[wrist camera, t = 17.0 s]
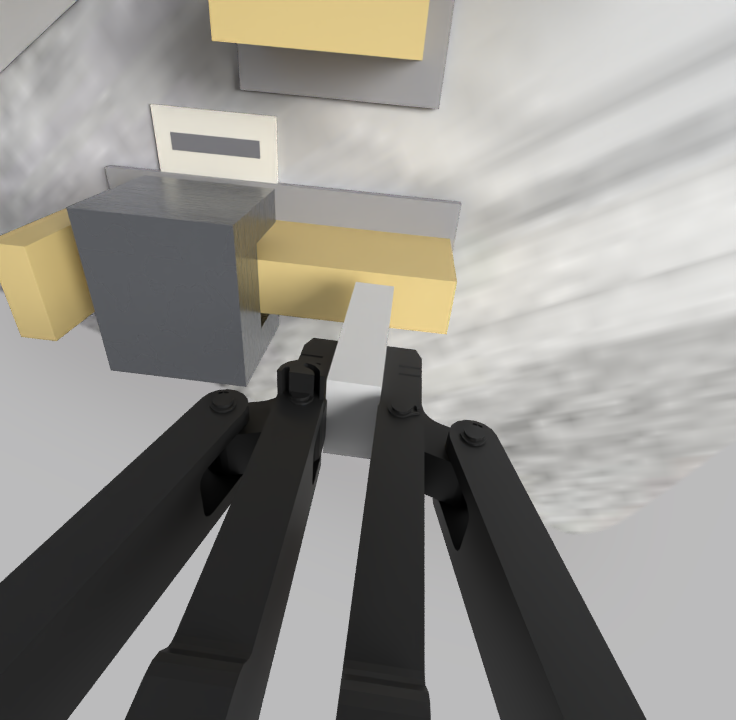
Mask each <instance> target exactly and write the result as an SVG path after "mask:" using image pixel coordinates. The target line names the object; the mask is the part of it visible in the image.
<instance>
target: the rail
mask: <svg viewBox="0 0 736 720" xmlns="http://www.w3.org/2000/svg"><path fill="white" fill-rule="evenodd" d="M105 170H106V175H107V179H108V184H109V188H110V189H112V188H114V187H116V186H119V185H121V184H124V183H126V182H128V181H131V180H133V179H136V178H138V177H140V176H143V175H148V176H158V177H168V178H177V179H187V180H196V181H206V182H216V183H225V184H235V185H244V186H254V187H263V188H273V189H275V216H276V222H275V223H274V225H273V226H272V227H271V228H270V229H269V230H268V231H267V232H266V233H265V235H264V236H263V237H262V238H261V239H260V240H259V241H258V242H257V260H258V278H259V296H260V313H267V314H276V315H284V316H293V317H302V318H310V319H319V320H327V321H336V322H344V320H345V317H346V313H347V310H348V307H349V303H350V300H351V297H352V293H353V290H354V286H355V283H356V282H361V283H370V284H378V285H386V286H394V293H393V301H392V309H391V317H390V325H389V328H396V329H405V330H414V331H422V332H431V333H439V334H447V330H448V325H449V320H450V314H451V309H452V304H453V299H454V294H455V289H456V284H457V279H456V273H455V267H454V260H453V254H452V253H453V247H454V242H455V236H456V231H457V226H458V220H459V215H460V209H461V202H456V201H447V200H437V199H428V198H418V197H409V196H399V195H390V194H380V193H371V192H361V191H352V190H342V189H333V188H323V187H314V186H304V185H295V184H285V183H277V184H276V183H266V182H257V181H247V180H238V179H228V178H219V177H209V176H200V175H190V174H181V173H171V172H162V171H161V170H152V169H143V168H133V167H124V166H114V165H109V166H106V167H105ZM0 283H1V285H2V288H3V291H4V293H5V296H6V298H7V301H8V303H9V306H10V309H11V311H12V314H13V317H14V319H15V322H16V324H17V327H18V329H19V332H20V335H21V337H27V338H36V339H43V340H52V341H57V340H59V339H60V338H61V337H63V336H64V335H65V334H66V333H68V332H69V331H70V330H71V329H73V328H74V327H75V326H77V325H78V324H79V323H81V322H82V321H83V320H85V319H86V318H87V317H88V316H90V315H91V314H92V313H94V312H95V310H94V307H93V303H92V299H91V296H90V292H89V288H88V285H87V281H86V278H85V274H84V270H83V267H82V263H81V259H80V256H79V252H78V248H77V245H76V241H75V238H74V234H73V230H72V227H71V223H70V219H69V216H68V212H67V209H66V208H65V209H63V210H61V211H58V212H56V213H53V214H51V215H49V216H46V217H44V218H41V219H39V220H37V221H34V222H32V223H30V224H27V225H25V226H22V227H20V228H18V229H15V230H13V231H10V232H8V233H6V234H3V235H1V236H0Z"/></svg>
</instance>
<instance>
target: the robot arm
mask: <svg viewBox="0 0 736 720" xmlns="http://www.w3.org/2000/svg"><path fill="white" fill-rule="evenodd" d="M393 293H394V286H386V285H378V284H370V283H361V282H356V283H355V286H354V290H353V293H352V297H351V300H350V303H349V307H348V310H347V313H346V317H345V320H344V323H343V327H342V330H341V334H340V337H339V340H338V341H334V340H326V339H319V338H313V339H312V340H310V341H309V342H308V343H306V344H305V345H304V347H303V350H302V352H301V355H300V357H299V359H298V360H294V361H290V362H287V363H285V364H283V365H281V366H280V367H279V369H278V370H277V388H278V394H277V397H276V398H274V399H271V400H267V401H260V402H249V403H248V399H247V398H246V396H245V395H244V394H242V393H240V392H238V391H235V390H229V389H226V390H217V391H214V392H211V393H209V394H207V395H206V396H204V397H203V398H202V399H200V400H199V401H198V402H197V403H196V404H195V405H194V406H193V407H192V408H191V409H189V410H188V411H187V412H186V413H185V414H184V415H183V416H182V417H181V418H180V419H179V420H178V421H176V423H174V424H173V425H172V426H171V427H170V428H169V429H168V430H167V431H165V432H164V433H163V434H162V435H161V436H160V437H159V438H158V439H157V440H156V441H155V442H153V443H152V444H151V445H150V446H149V447H148V448H147V449H146V450H145V451H144V452H143V453H141V454H140V455H139V456H138V457H137V458H136V459H135V460H134V461H133V462H132V463H131V464H130V465H128V466H127V467H126V468H125V469H124V470H123V471H122V472H121V473H120V474H119V475H118V476H116V477H115V478H114V479H113V480H112V481H111V482H110V483H109V484H108V485H107V486H105V487H104V488H103V489H102V490H101V491H100V492H99V493H98V494H97V495H96V496H95V497H93V498H92V499H91V500H90V501H89V502H88V503H87V504H86V505H85V506H84V507H83V508H81V509H80V510H79V511H78V512H77V513H76V514H75V515H74V516H73V517H72V518H71V519H69V520H68V521H67V522H66V523H65V524H64V525H63V526H62V527H61V528H60V529H59V530H57V531H56V532H55V533H54V534H53V535H52V536H51V537H50V538H49V539H48V540H47V541H45V542H44V543H43V544H42V545H41V546H40V547H39V548H38V549H37V550H36V551H35V552H34V553H32V554H31V555H30V556H29V557H28V558H27V559H26V560H25V561H24V562H23V563H21V564H20V565H19V566H18V567H17V568H16V569H15V570H14V571H13V572H12V573H10V574H9V575H8V576H7V577H6V578H5V579H4V580H3V581H2V582H1V583H0V720H67V719H68V718H69V716H70V715H71V714H72V712H73V711H74V710H75V709H76V707H77V706H78V705H79V703H80V702H81V701H82V699H83V698H84V697H85V695H86V694H87V693H88V692H89V690H90V689H91V688H92V686H93V685H94V684H95V682H96V681H97V679H98V678H99V677H100V676H101V674H102V673H103V671H104V670H105V669H106V668H107V666H108V665H109V664H110V662H111V661H112V660H113V658H114V657H115V656H116V655H117V653H118V652H119V650H120V649H121V648H122V647H123V645H124V644H125V643H126V641H127V640H128V639H129V637H130V636H131V635H132V633H133V632H134V631H135V629H136V628H137V627H138V625H139V624H140V623H141V622H142V620H143V619H144V617H145V616H146V615H147V614H148V612H149V611H150V610H151V608H152V607H153V605H154V604H155V603H156V602H157V600H158V599H159V598H160V596H161V595H162V594H163V592H164V591H165V590H166V589H167V587H168V586H169V585H170V583H171V582H172V581H173V579H174V578H175V577H176V575H177V574H178V573H179V571H180V570H181V569H182V567H183V566H184V565H185V563H186V562H187V561H188V559H189V558H190V557H191V555H192V554H193V553H194V552H195V550H196V549H197V548H198V546H199V545H200V544H201V542H202V541H203V540H204V538H205V537H206V536H207V534H208V533H209V532H210V530H211V529H212V528H213V526H214V525H215V524H216V522H217V521H218V520H219V519H220V517H221V516H222V514H223V513H224V512H225V511H226V509H227V508H228V507H229V505H230V504H231V505H230V507H229V510H228V512H227V514H226V517H225V519H224V521H223V524H222V526H221V528H220V531H219V533H218V535H217V538H216V540H215V542H214V545H213V547H212V550H211V552H210V554H209V557H208V559H207V561H206V564H205V566H204V568H203V571H202V573H201V575H200V578H199V580H198V582H197V585H196V587H195V589H194V592H193V594H192V597H191V599H190V601H189V604H188V606H187V608H186V611H185V613H184V615H183V618H182V620H181V622H180V625H179V627H178V630H177V632H176V634H175V636H174V638H173V640H172V642H171V644H170V645H169V646H168V647H167V648H165V649H163V650H161V651H159V652H158V654H157V655H156V656H155V658H154V659H153V660H152V662H151V664H150V666H149V667H148V670H147V671H146V673H145V676H144V677H143V680H142V682H141V684H140V686H139V689H138V691H137V693H136V695H135V698H134V700H133V702H132V704H131V707H130V709H129V711H128V713H127V716H126V718H125V720H258V719H259V715H260V710H261V707H262V702H263V698H264V694H265V690H266V686H267V682H268V678H269V673H270V669H271V666H272V662H273V658H274V654H275V650H276V645H277V641H278V637H279V633H280V629H281V625H282V621H283V617H284V612H285V609H286V605H287V601H288V597H289V593H290V588H291V584H292V580H293V576H294V572H295V568H296V564H297V560H298V556H299V552H300V548H301V544H302V539H303V536H304V531H305V527H306V523H307V519H308V515H309V511H310V506H311V502H312V499H313V495H314V490H315V487H316V482H317V478H318V474H319V470H320V466H321V452H322V448H323V453H330V454H337V455H344V456H352V457H359V458H367V459H371V461H370V468H369V476H368V483H367V492H366V499H365V506H364V514H363V521H362V528H361V536H360V544H359V551H358V559H357V566H356V573H355V581H354V588H353V596H352V604H351V611H350V619H349V626H348V634H347V641H346V649H345V656H344V664H343V671H342V679H341V686H340V694H339V701H338V709H337V716H336V720H431V715H430V699H429V693H428V690H427V688H426V686H425V673H424V494H426V495H428V496H430V497H433V504H434V508H435V511H436V514H437V517H438V520H439V524H440V527H441V530H442V533H443V536H444V540H445V543H446V546H447V549H448V552H449V556H450V559H451V562H452V565H453V569H454V572H455V575H456V578H457V581H458V585H459V588H460V590H461V594H462V598H463V601H464V604H465V607H466V610H467V614H468V617H469V620H470V623H471V626H472V630H473V633H474V636H475V639H476V642H477V645H478V649H479V652H480V655H481V658H482V662H483V665H484V668H485V671H486V674H487V678H488V681H489V684H490V687H491V691H492V694H493V697H494V700H495V703H496V707H497V710H498V713H499V716H500V719H501V720H646V718H645V716H644V714H643V712H642V710H641V708H640V706H639V704H638V703H637V701H636V699H635V697H634V695H633V693H632V691H631V689H630V687H629V685H628V684H627V682H626V680H625V678H624V676H623V674H622V672H621V670H620V669H619V667H618V665H617V663H616V661H615V659H614V657H613V655H612V653H611V651H610V649H609V648H608V646H607V644H606V642H605V640H604V638H603V636H602V634H601V632H600V630H599V629H598V627H597V625H596V623H595V621H594V619H593V617H592V615H591V613H590V612H589V610H588V608H587V606H586V604H585V602H584V600H583V598H582V596H581V594H580V593H579V591H578V589H577V587H576V585H575V583H574V582H573V579H572V577H571V576H570V574H569V572H568V570H567V568H566V566H565V564H564V563H563V560H562V558H561V557H560V555H559V553H558V551H557V549H556V547H555V545H554V543H553V541H552V539H551V538H550V536H549V534H548V532H547V530H546V528H545V526H544V524H543V522H542V520H541V519H540V517H539V515H538V513H537V511H536V509H535V507H534V505H533V503H532V502H531V500H530V498H529V496H528V494H527V492H526V490H525V488H524V486H523V484H522V483H521V481H520V479H519V477H518V475H517V473H516V471H515V469H514V467H513V465H512V464H511V462H510V460H509V458H508V456H507V454H506V452H505V450H504V448H503V447H502V445H501V443H500V441H499V439H498V437H497V435H496V434H495V433H494V432H493V430H492V429H491V428H489V427H488V426H486V425H485V424H482V423H479V422H477V421H471V420H462V421H457V422H456V423H454V424H452V425H451V427H447V426H444V425H442V424H439V423H437V422H435V421H434V420H432V419H431V418H429V417H428V416H427V415H426V414H425V412H424V410H423V407H422V378H421V376H422V370H421V369H422V359H421V357H420V356H419V354H418V353H417V351H416V350H412V349H405V348H397V347H389V346H387V341H388V333H389V325H390V317H391V309H392V301H393Z"/></svg>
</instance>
